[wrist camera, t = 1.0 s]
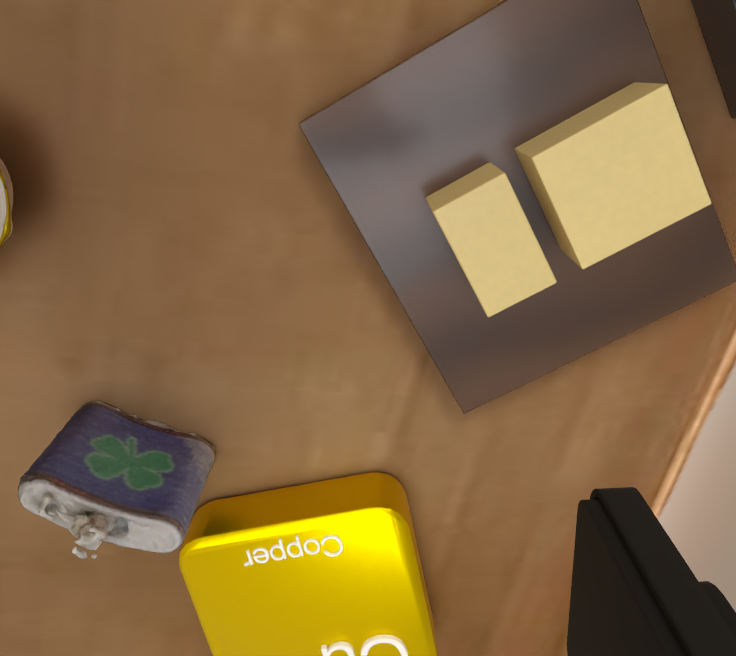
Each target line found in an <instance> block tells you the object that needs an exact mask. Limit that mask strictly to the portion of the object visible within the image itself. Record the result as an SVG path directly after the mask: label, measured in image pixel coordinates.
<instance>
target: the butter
mask: <svg viewBox="0 0 736 656" xmlns="http://www.w3.org/2000/svg"><path fill="white" fill-rule="evenodd" d="M515 152H516V154H517V156H518V158H519V161H520V163H521V165H522V167H523V169H524V171H525V173H526V176H527V178H528V180H529V182H530V184H531V186H532V189H533V191H534V193H535V195H536V197H537V199H538V202H539V204H540V206H541V208H542V210H543V212H544V214H545V217H546V219H547V221H548V223H549V225H550V227H551V230H552V232H553V234H554V236H555V238H556V240H557V242H558V245H559V247H560V249H561V250H562V251H563V252H564V253H565V254H566V255H567V256H568V257H569V258H571V259H572V260H573V261H574V262H575V263H576V264H577V265H578V266H579V267H581V268H582V269H585V268H587V267H589V266H591V265H593V264H595V263H597V262H599V261H601V260H603V259H604V258H606V257H608V256H610V255H612V254H614V253H616V252H618V251H620V250H622V249H624V248H626V247H628V246H630V245H632V244H634V243H636V242H638V241H640V240H642V239H644V238H646V237H648V236H650V235H652V234H654V233H655V232H657V231H659V230H661V229H663V228H665V227H667V226H669V225H671V224H673V223H675V222H677V221H679V220H681V219H683V218H685V217H687V216H689V215H691V214H693V213H695V212H697V211H699V210H701V209H703V208H705V207H707V206H708V205H710V204H711V200H710V198H709V195H708V192H707V190H706V187H705V184H704V181H703V179H702V176H701V173H700V171H699V168H698V165H697V162H696V160H695V157H694V154H693V152H692V149H691V146H690V144H689V141H688V138H687V135H686V133H685V130H684V127H683V125H682V122H681V119H680V117H679V114H678V111H677V108H676V106H675V103H674V100H673V98H672V95H671V92H670V89H669V87H668V85H667V84H660V83H642V82H634V83H632V84H630V85H628V86H627V87H625V88H623V89H621V90H619V91H618V92H616V93H614V94H612V95H610V96H609V97H607V98H605V99H603V100H601V101H599V102H598V103H596V104H594V105H592V106H590V107H589V108H587V109H585V110H583V111H581V112H580V113H578V114H576V115H574V116H572V117H570V118H569V119H567V120H565V121H563V122H561V123H560V124H558V125H556V126H554V127H552V128H551V129H549V130H547V131H545V132H543V133H541V134H540V135H538V136H536V137H534V138H532V139H531V140H529V141H527V142H525V143H523V144H522V145H520V146H518V147H516V148H515Z"/></svg>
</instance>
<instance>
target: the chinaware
mask: <svg viewBox="0 0 736 656" xmlns="http://www.w3.org/2000/svg"><path fill="white" fill-rule="evenodd" d="M10 179H11V178H10V175H9V173H8V170H7V168H6V166H5V164H4V163H3V161H2V159H1V158H0V247H1V246H2V245H3V243H4V242H5V240H6V239H8V238H9V237H10V235H11V233H12V229H13V224H12V220H11V211H12V206H13V187H12V181H11V180H10Z"/></svg>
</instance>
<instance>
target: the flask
mask: <svg viewBox="0 0 736 656" xmlns="http://www.w3.org/2000/svg"><path fill="white" fill-rule="evenodd" d="M82 405H83V407H82V408H81V409H80V410H78V411H77V412H76V413H75V414H74V415H73V416H72V417H71V419H70V420H69V421H68V423H67V424H66V425H65V426H64V428H63V429H62V430H61V431H60V432H59V433H58V434H57V436H56V437H55V439H54V440H53V441H52V442H51V444H50V445H49V446H48V447H47V448H46V449H45V450H44V452H43V453H42V455H41V456H39V458H38V459H37V460H36V461H35V462H34V463H33V465H32V466H31V467H30V469H29V470H28V471H27V472H26V473H25V474H24V475H23V476H22V477H21V479H20V483H19V486H18V497H19V500H20V503H21V504H22V505H23V506H24V507H25V508H26V509H27V510H29V511H30V512H32V513H34V514H36V515H39V516H41V517H43V518H46V519H48V520H49V521H51V522H53V523H55V524H57V525H59V526H61V527H63V528H66V529H68V530H70V532H71V533H72V534H73V535H74V537H75V538H79V540H78V541H75V543H76V544H78V545H80V546H81V547H85V548H86V549H88V550H96V549H97V548H98V546H99V545H100V544H101V543H102V542H108V543H112V544H116V545H119V546H123V547H129V548H135V549H139V550H144V551H148V552H158V553H171V552H172V551H175V550H177V549H178V548H179V547H180V546H181V544H182V542H183V540H184V538H185V536H186V534H187V531H188V527H189V525H190V522H191V518H192V516H193V513H194V511H195V508H196V505H197V502H198V500H199V497H200V495H201V492H202V490H203V488H204V485H205V482H206V479H207V477H208V474H209V472H210V469H211V467H212V464H213V462H214V458H215V454H214V449H215V448H214V447H213V446H212V445H211V444H210V443H208V442H207V441H205V440H204V439H203V438H201V437H198V435H195V434H192V433H189V434H187V435H186V434H185V433H182V432H179V431H176V430H175V429H172V428H170V426H168V425H164V424H163V423H162V422H156V421H142V420H140V419H138V418H137V416H136V414H135V415H127V414H125V413H123V412H121V411H120V410H119V408H113V407H111V406H109V405H107V404H104V403H102V402H100V401H96V402H95V401H94V402H89V403H87V404H82ZM72 553H74V554H75V555H76V556H78V557H80V558H86V557H88V555H87V553H86V551H82V550H79V549H77V548H76V547H74V548H73V549H72ZM97 556H98V555H96V554H93V555H92V557H91V558H96V557H97Z"/></svg>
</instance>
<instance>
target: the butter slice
mask: <svg viewBox="0 0 736 656" xmlns="http://www.w3.org/2000/svg"><path fill="white" fill-rule="evenodd" d="M426 200H427V202H428V204H429V206H430V208H431V210H432V212H433V214H434V216H435V218H436V220H437V222H438V224H439V226H440V227H441V229H442V231H443V233H444V235H445V237H446V239H447V241H448V243H449V245H450V247H451V248H452V250H453V252H454V254H455V256H456V258H457V260H458V262H459V264H460V266H461V267H462V269H463V271H464V273H465V275H466V277H467V279H468V281H469V283H470V285H471V287H472V288H473V290H474V292H475V294H476V296H477V298H478V300H479V302H480V304H481V306H482V307H483V309H484V311H485V313H486V315H487V317H491V316H492V315H494V314H496V313H498V312H500V311H502V310H504V309H506V308H508V307H510V306H512V305H514V304H516V303H518V302H520V301H522V300H524V299H526V298H528V297H530V296H532V295H534V294H536V293H538V292H540V291H542V290H544V289H545V288H547V287H549V286H551V285H553V284H555V283H557V281H556V279H555V277H554V275H553V272H552V270H551V268H550V266H549V264H548V262H547V260H546V258H545V256H544V253H543V251H542V249H541V247H540V245H539V243H538V241H537V239H536V237H535V235H534V232H533V230H532V228H531V226H530V224H529V222H528V220H527V218H526V216H525V213H524V211H523V209H522V207H521V205H520V203H519V201H518V199H517V197H516V195H515V192H514V190H513V188H512V186H511V184H510V182H509V180H508V178H507V176H506V174H505V173H504V172H503V171H502V170H500V169H499V168H497V167H496V166H495V165H493V164H492V163H491V162H489V163H487V164H485V165H484V166H482V167H480V168H478V169H476V170H474V171H473V172H471V173H469V174H467V175H465V176H464V177H462V178H460V179H458V180H456V181H455V182H453V183H451V184H449V185H447V186H445V187H444V188H442V189H440V190H438V191H436V192H435V193H433V194H431V195H429V196H427V197H426Z"/></svg>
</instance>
